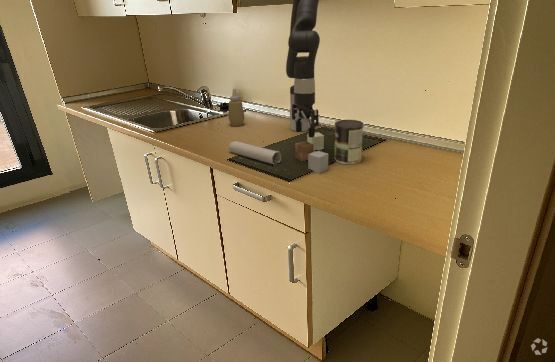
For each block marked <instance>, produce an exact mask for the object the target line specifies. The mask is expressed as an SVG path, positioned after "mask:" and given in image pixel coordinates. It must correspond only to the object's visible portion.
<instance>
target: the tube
mask: <svg viewBox="0 0 555 362" xmlns="http://www.w3.org/2000/svg"><path fill="white" fill-rule="evenodd" d="M228 150H229V151H230V152H231V153H232V154H236V155H239V156H242V157H245V158H249V159H253V160H256V161H259V162H262V163H266V164H270V165H272V164H273V166H275V165H274V163H273V162H275V164H276V163H279V164H280V163H281V161H282V154H281V152H280V151H279V150H273V149H270V148H269V149H268V148H265V147H261V146H256V145H253V144H249V143H246V142H240V141H237V140H235V141H232V142H230V144H229V146H228ZM276 165H277V164H276Z"/></svg>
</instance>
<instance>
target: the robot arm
mask: <svg viewBox="0 0 555 362" xmlns="http://www.w3.org/2000/svg"><path fill="white" fill-rule="evenodd" d="M319 1H320V0H292V8H291V15H290V16H291V17H290V26H289V27H290V28H289V29H290V31H289V37H288V39H287V40H288V41H287V45H288V51H287V56H286V63H285V71H286V73H285V74H286V76H287V77H288V78H289V79H294V81H293V85H291V86H290V87H289V96H290V97H289V100H290V101H289V104H290V107H289V128H290V130H291V131H294V132H296V133H300V132H301V133H302V132H307V131H308V132H307V134H308V137H310V138H311V137H314V135H315V133H316V131H315V129H316V127H319V125H320V122H319V121H320V120H319V118H320V117H319V109H318V108H317V109H314V107H313V106H314V105H315V104H316V79H315V64H316V57H317V54H318V50H319V48H320V47H319V45H320V43H321V42H320V41H321V38H320V35H319V33H318V32H317V31H316V30H315V29H314V28H316V26H317V18H318V7H319ZM300 53H301V54H305V53H306V54H308V56H307V55H304V56H303V55H301V56H300V55H299V56H298V54H300Z"/></svg>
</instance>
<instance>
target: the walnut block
mask: <svg viewBox="0 0 555 362" xmlns="http://www.w3.org/2000/svg"><path fill="white" fill-rule="evenodd" d="M294 146H295V150H294V151H295V159H296V158H297V160H298V159H299V160H298V161H300V160H301V161H300V162H302V161H304V162H306V161H305V160H308V154H310V153H313V152H315V151H314V144H311V143H309V142H307V140H305V141H299V142H296V143H294Z"/></svg>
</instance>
